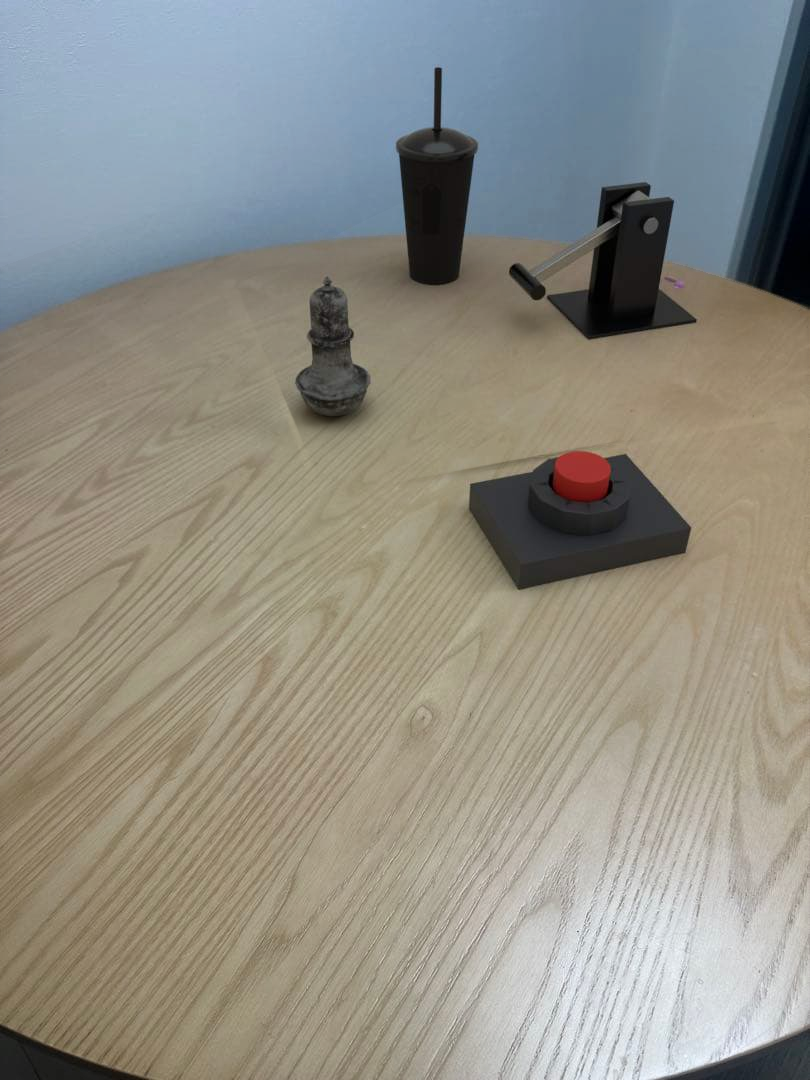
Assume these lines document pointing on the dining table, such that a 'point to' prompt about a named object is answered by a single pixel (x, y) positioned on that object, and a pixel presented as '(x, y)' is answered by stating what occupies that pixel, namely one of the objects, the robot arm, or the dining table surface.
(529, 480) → the button box
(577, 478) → the button
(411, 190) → the drinking cup
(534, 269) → the press lever
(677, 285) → the earpods
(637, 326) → the lever bracket
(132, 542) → the dining table surface
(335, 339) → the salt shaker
